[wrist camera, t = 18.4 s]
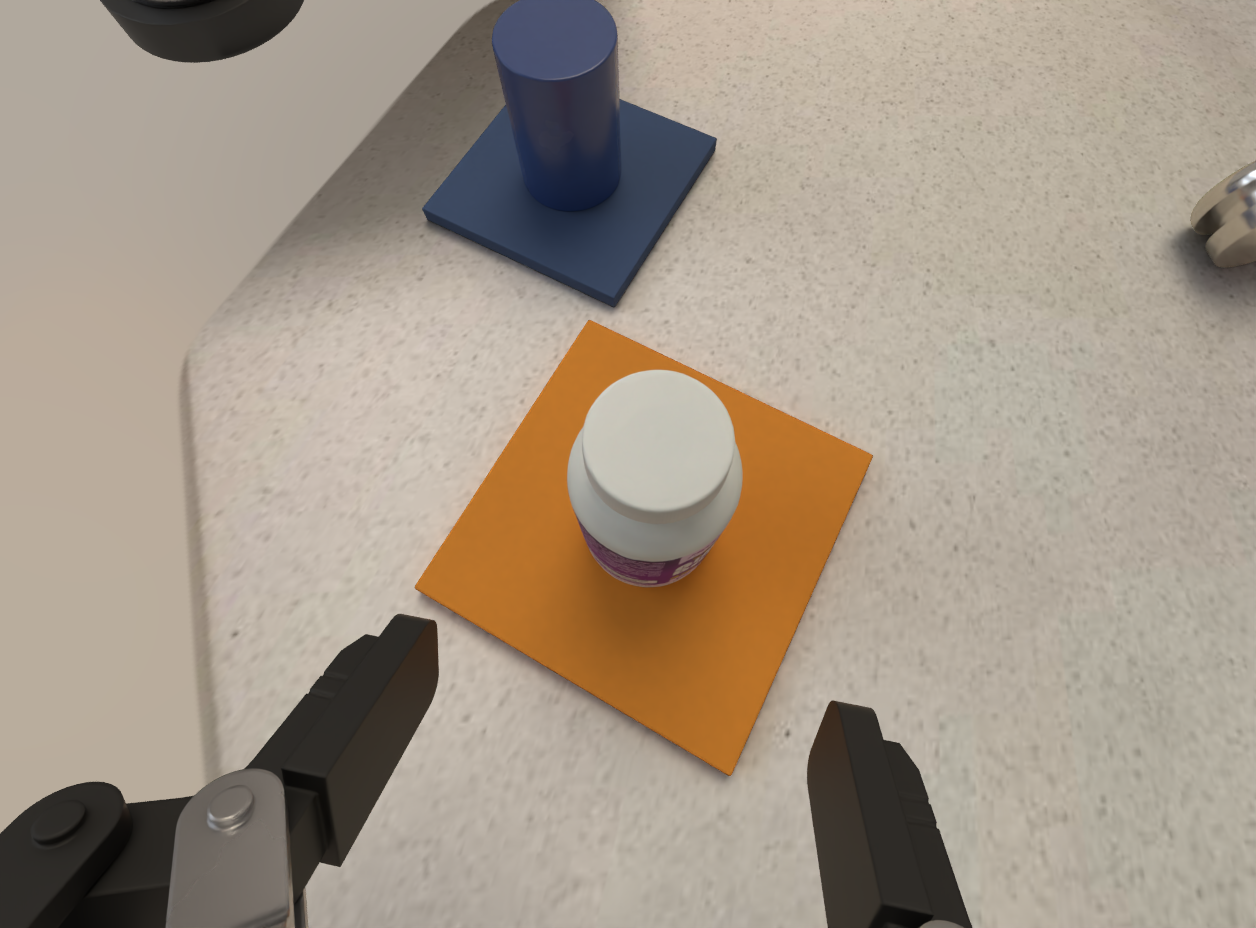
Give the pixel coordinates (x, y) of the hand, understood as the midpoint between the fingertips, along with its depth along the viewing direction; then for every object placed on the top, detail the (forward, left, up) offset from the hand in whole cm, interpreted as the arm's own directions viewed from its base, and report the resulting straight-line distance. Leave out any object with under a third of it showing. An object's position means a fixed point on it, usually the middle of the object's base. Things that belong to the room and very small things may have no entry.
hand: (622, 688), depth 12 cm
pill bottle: (-2, +6, -11) cm, 13 cm away
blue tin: (-14, +20, -11) cm, 27 cm away
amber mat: (-2, +6, -12) cm, 13 cm away
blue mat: (-14, +20, -12) cm, 27 cm away
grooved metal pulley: (+16, +32, -12) cm, 38 cm away
